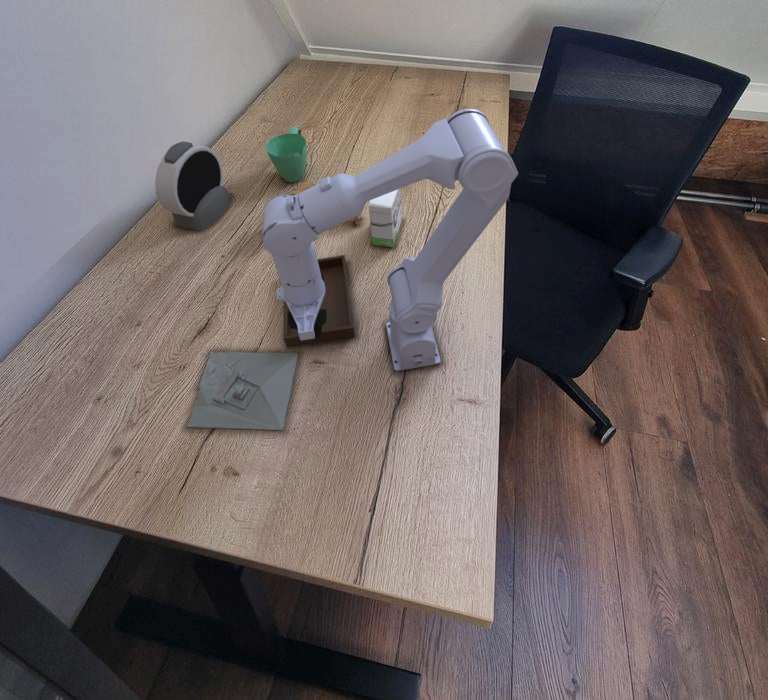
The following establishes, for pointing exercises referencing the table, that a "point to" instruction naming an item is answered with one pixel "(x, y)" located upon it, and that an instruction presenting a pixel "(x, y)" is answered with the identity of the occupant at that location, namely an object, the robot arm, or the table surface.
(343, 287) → the tray
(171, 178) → the alarm clock
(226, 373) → the grey green square plate
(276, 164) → the mug
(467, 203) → the robot arm
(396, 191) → the ink box
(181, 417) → the table surface
